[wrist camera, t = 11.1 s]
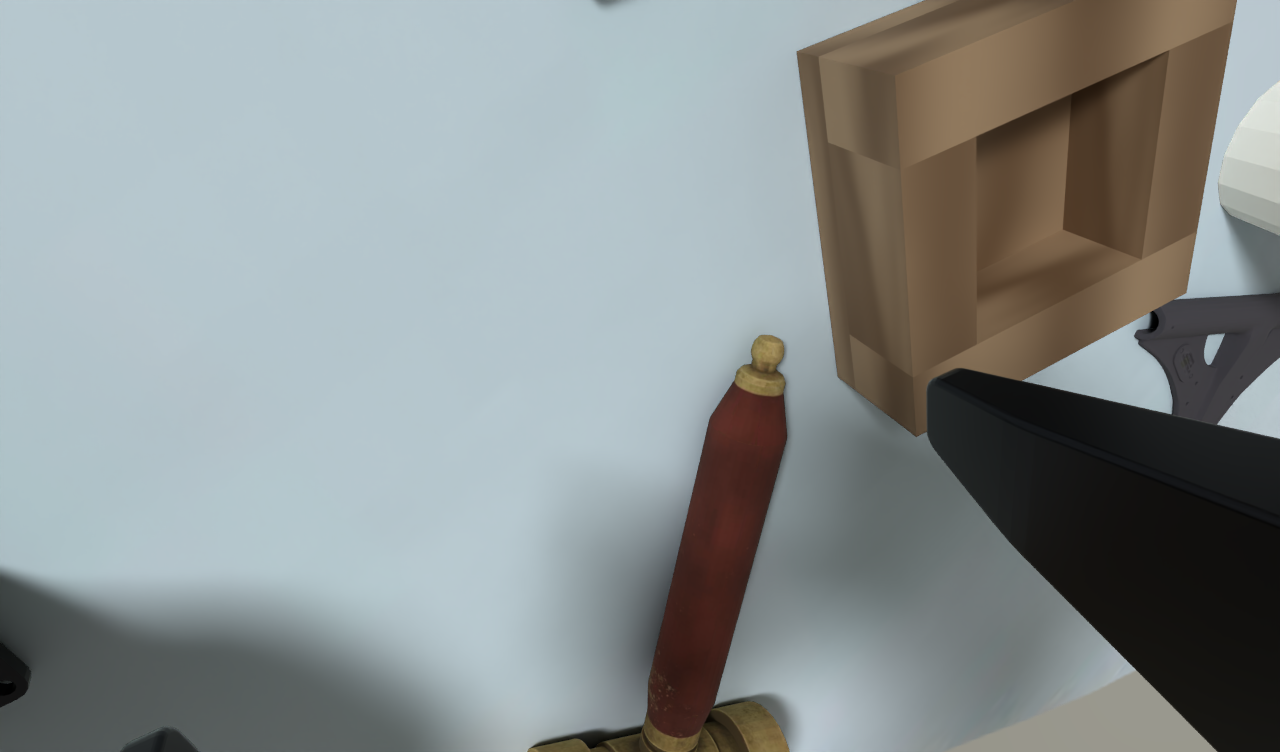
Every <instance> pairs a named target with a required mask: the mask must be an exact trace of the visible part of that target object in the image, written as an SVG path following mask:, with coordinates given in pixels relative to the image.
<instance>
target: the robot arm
mask: <svg viewBox="0 0 1280 752" xmlns="http://www.w3.org/2000/svg"><path fill="white" fill-rule="evenodd" d="M926 415H927V434H928V438H929V441H930V443H931V445H932V447H933V448H934V450H935V451H936V452H937V454H938V455H939V456H940V457H941V459H942V460H943V461H944V462H945V464H946V465H947V466H948V467H949V468H950V470H951V471H952V472H953V473H954V475H955V476H956V477H957V478H958V480H959V481H960V482H961V483H962V485H963V486H964V487H965V488H966V490H967V491H968V492H969V493H970V495H971V496H972V497H973V498H974V500H975V501H976V502H977V503H978V504H979V506H980V507H981V508H982V509H983V511H984V512H985V513H986V514H987V516H988V517H989V518H990V519H991V521H992V522H993V523H994V524H995V526H996V527H997V528H998V529H999V530H1000V532H1001V533H1002V534H1003V535H1004V536H1005V537H1006V539H1007V540H1008V541H1009V542H1010V543H1011V544H1012V545H1013V546H1014V547H1015V548H1016V549H1017V550H1018V552H1019V553H1020V554H1021V555H1022V556H1023V557H1024V558H1025V559H1026V560H1027V561H1028V562H1029V563H1030V564H1031V565H1032V566H1033V567H1034V568H1035V569H1036V570H1037V571H1038V572H1039V573H1040V574H1041V575H1042V576H1043V577H1044V578H1045V579H1046V580H1047V581H1048V582H1049V583H1050V584H1051V585H1052V586H1053V587H1054V588H1055V589H1056V590H1057V591H1058V592H1059V593H1060V594H1061V595H1062V596H1063V597H1064V598H1065V599H1066V600H1067V601H1068V602H1069V603H1070V604H1071V605H1072V606H1073V607H1074V608H1075V609H1076V610H1077V611H1078V612H1079V613H1080V614H1081V615H1082V616H1083V617H1084V618H1085V619H1086V620H1087V621H1088V622H1089V623H1090V624H1091V625H1092V626H1093V627H1094V628H1095V629H1096V630H1097V631H1098V632H1099V633H1100V634H1101V635H1102V636H1103V637H1104V638H1105V639H1106V640H1107V641H1108V642H1109V643H1110V644H1111V645H1112V646H1113V647H1114V648H1115V649H1116V650H1117V651H1118V652H1119V653H1120V654H1121V655H1122V656H1123V657H1124V658H1125V659H1126V660H1127V661H1128V662H1129V663H1130V664H1131V665H1132V666H1133V667H1134V668H1135V669H1136V670H1137V671H1138V672H1139V673H1140V674H1141V675H1142V676H1143V677H1144V678H1145V679H1146V680H1147V681H1148V682H1149V683H1150V684H1151V685H1152V686H1153V687H1154V688H1155V689H1156V690H1157V691H1158V692H1159V693H1160V694H1161V695H1162V696H1163V697H1164V698H1165V699H1166V700H1167V701H1168V702H1169V703H1170V704H1171V705H1172V706H1173V707H1174V708H1175V709H1176V710H1177V711H1178V712H1179V713H1180V714H1181V715H1182V716H1183V717H1184V718H1185V719H1186V721H1188V722H1189V723H1190V725H1191V726H1192V727H1193V728H1195V730H1196V731H1198V733H1199V734H1200V735H1201V736H1202V737H1204V738H1205V739H1206V740H1207V742H1208V743H1209V744H1210V745H1211V746H1212V747H1213V748H1214V749H1215V750H1216V751H1217V752H1280V439H1279V438H1274V437H1270V436H1265V435H1261V434H1256V433H1252V432H1247V431H1243V430H1238V429H1234V428H1229V427H1225V426H1221V425H1216V424H1212V423H1207V422H1203V421H1198V420H1194V419H1189V418H1185V417H1180V416H1176V415H1171V414H1167V413H1162V412H1158V411H1153V410H1149V409H1145V408H1140V407H1136V406H1131V405H1127V404H1122V403H1118V402H1113V401H1109V400H1104V399H1100V398H1095V397H1091V396H1086V395H1082V394H1077V393H1073V392H1069V391H1064V390H1060V389H1055V388H1051V387H1046V386H1042V385H1037V384H1033V383H1028V382H1024V381H1019V380H1015V379H1010V378H1006V377H1001V376H997V375H992V374H988V373H984V372H979V371H975V370H970V369H965V368H956V369H952V370H950V371H948V372H946V373H944V374H941V375H939V376H937V377H935V378H933V379H931V380H930V381H929V383H928V385H927V388H926ZM30 679H31V670H30V669H29V667H28V666H27V665H26V664H25V663H24V662H22V661H21V660H20V659H19V658H18V657H17V656H15V655H14V654H13V653H12V652H11V651H10V650H8V649H7V648H6V647H5V646H4V645H3V644H2V643H0V681H2V680H8V681H11V682H12V683H8V684H5V683H0V707H2V706H4V705H6V704H9V703H11V702H13V701H15V700H17V699H18V698H20V697H21V696H23V695H24V694H25V693H26V691H27V690H28V687H29V683H30ZM121 752H200V751H199V750H198V749H197V748H196V747H195V746H194V745H193V744H192V743H191V742H190V741H189V740H188V739H187V738H186V737H185V736H184V735H183V734H182V733H181V732H180V731H179V730H177V729H176V728H174V727H171V726H166V727H162V728H159V729H157V730H155V731H153V732H150V733H148V734H146V735H144V736H142V737H139V738H137V739H135V740H133V741H131V742H130V743H128V744H127V745H126V746H125V747H124V748H123V749H122V750H121Z"/></svg>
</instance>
